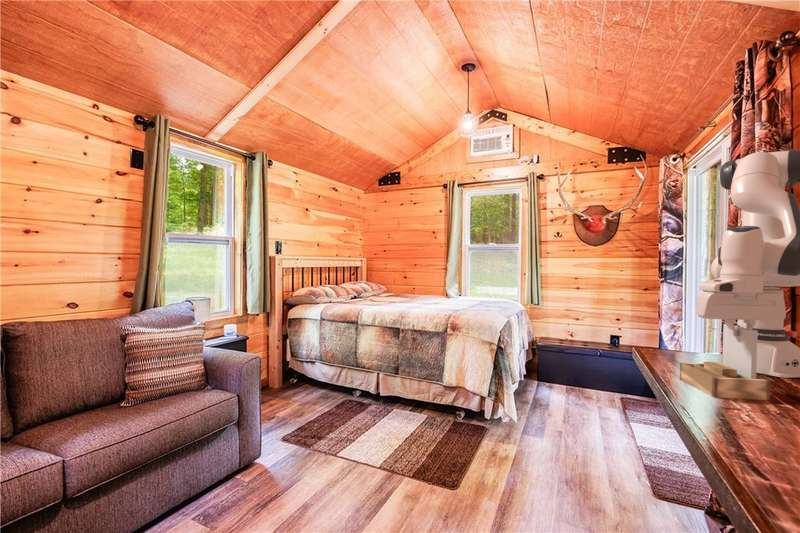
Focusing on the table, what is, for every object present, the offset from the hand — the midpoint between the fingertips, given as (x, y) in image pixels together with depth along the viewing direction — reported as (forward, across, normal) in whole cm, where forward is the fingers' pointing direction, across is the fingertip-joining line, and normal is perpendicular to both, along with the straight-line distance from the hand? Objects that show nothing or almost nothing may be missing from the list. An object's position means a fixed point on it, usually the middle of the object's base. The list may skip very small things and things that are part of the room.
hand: (739, 336), depth 101 cm
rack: (+16, +3, 0) cm, 16 cm away
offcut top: (+11, +4, 0) cm, 12 cm away
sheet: (+11, 0, 0) cm, 11 cm away
